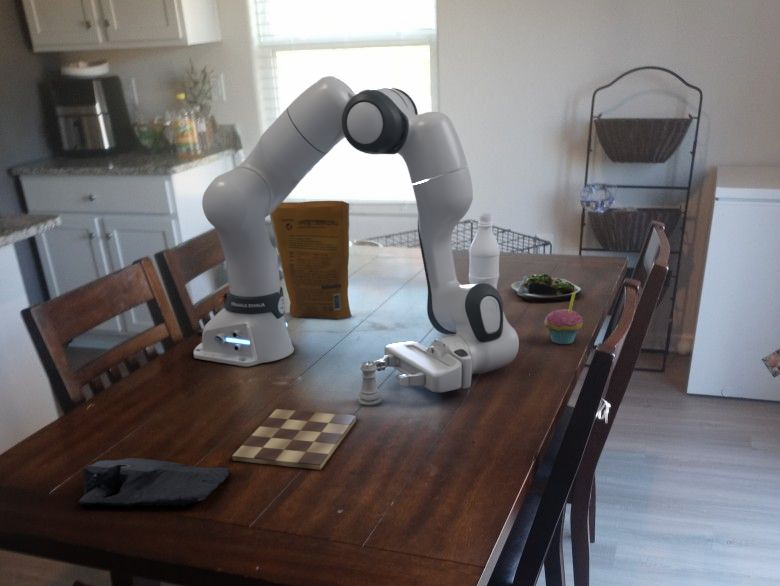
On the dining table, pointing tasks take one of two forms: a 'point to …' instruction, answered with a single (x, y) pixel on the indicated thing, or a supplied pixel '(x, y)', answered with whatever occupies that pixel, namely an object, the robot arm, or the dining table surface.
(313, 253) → the pancake mix bag
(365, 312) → the dining table surface
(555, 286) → the salad plate
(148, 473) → the dark slate chunk
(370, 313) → the dining table surface
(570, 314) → the cupcake
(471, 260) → the water bottle
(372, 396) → the rook chess piece
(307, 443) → the chessboard
